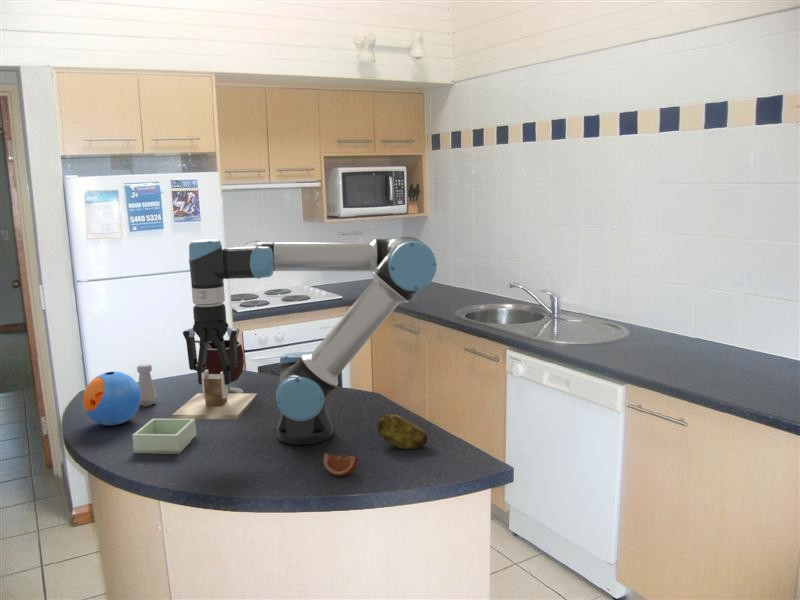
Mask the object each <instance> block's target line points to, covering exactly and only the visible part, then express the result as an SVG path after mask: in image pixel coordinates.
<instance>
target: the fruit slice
mask: <svg viewBox="0 0 800 600" xmlns="http://www.w3.org/2000/svg"><path fill="white" fill-rule="evenodd" d="M322 463H323V466H324V469H326V471H328V472H329V473H330V474H331V475H333V476H337V477H346V476H348V475H350V474H352V473H353V472H354V471H355V469H356V468H357V465H358V464H359V458H358V457H357V456H356V455H347V454H342V453H341V454H340V455H338V454H333V453H326V452H324V453H323V458H322Z"/></svg>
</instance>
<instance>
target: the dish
mask: <svg viewBox="0 0 800 600" xmlns="http://www.w3.org/2000/svg"><path fill="white" fill-rule="evenodd" d="M196 426H197V423H196V419H172V418H152V419H150V420H149V421H148V422H146V424H144V425H143V426H142V427H141V428H139V429H138V430H137V431H136V432H134V433H133V434H132V435H131V436H132V448H133V454H148V455H150V454H152V455H153V454H158V455H159V454H161V455H180V454H181V452H183V451H184V449H185V448H186V447H187V446H188V445H189V444H190V443H191V442H192V441H193V440H194V439H195V438H196V437H197V427H196ZM195 436H196V437H195ZM194 437H195V438H194ZM193 438H194V439H193ZM192 439H193V440H192ZM191 440H192V441H191Z"/></svg>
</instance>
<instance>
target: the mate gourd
mask: <svg viewBox="0 0 800 600" xmlns="http://www.w3.org/2000/svg"><path fill="white" fill-rule="evenodd" d="M224 341H225V342H224V344H225V348H226V351H227V355H228V358H229V362H230V354H229V339H224ZM199 342H200V340H198V339H197V340H196V339H195V344H199ZM237 352H238V366H237V367H236V368H235V369H234V370H231V383H234V382H236V381H237V380H239V378H240V377H241V375H242V374H243V371H244V365H245V363H244V362H245V359H244V357H245V356H244V350H243V346H242V342H241V341H240V340H237ZM205 367H206V368H205V369H204V371H205V370H208V373H209V374H220V373H221V372H222V371H223V369H222V365H221V362H220V358H219V355H218V351H217V347H216V346H215V343H214V342H209V344H208V349H207V357H206V365H205ZM228 393H239V394H244V390H243V389H241V388H240V387H233V386H232V387H229V385H228Z"/></svg>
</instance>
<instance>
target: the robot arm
mask: <svg viewBox="0 0 800 600" xmlns="http://www.w3.org/2000/svg"><path fill="white" fill-rule="evenodd" d="M188 255H189V258H188V262H189V271H190V282H191V283H190V284H191V297H192V303H193V307H192V311H193V312H192V314H193V321H194V322H193V325H192V328H187V329H185V330H184V331H182V335H183V337H184V339H185V343H186V350H187V352H186V353H187V359H188V367H189V370H191V371H196V372H197V380H198V381H197V382H198V385H199V386H200V385H201V386H202V387H201V388H202V393H203V399H205V390H204V378H206V377H207V376H208V375H209V373H208V370H205V371H204V369H205V368H206V367H205V365H206V357H207V349H208V344H209V342H214V343H215V346H216V347H217V351H218V355H219V358H220V362H221V365H222V369H223V371H222V372H221V373H220V378H221V391H222V399H225V398H226V397H227V396H228V395H229V394H228V386H229V385H230V384H232V382H231V370H234V369H235V368H236V367H237V366H238V352H237V341H238V336H239V334H240V329H239V328H232V327H230V326H229V324H228V322H227V313H226V312H227V311H226V304H225V303H224V302H226V299H225V297H226V296H225V283H224V281H225V280H230V279H257V280H258V279H261V278H262V279H263V278H271V277H272V276H273V274H274V272H370V273H372V282H371V283H370V284H369V285H368V286H367V288H366V289H364V291H363V292H362V293H361V295H360V296H359V297H358V298H357V299H356V300H355V302H354V303H353V304H352V305H351V306H350V307H349V308H348V310H347V311H346V312H345V313H344V314H343V315H342V317H341V318H340V319H339V321H338V322H337V323H336V324H335V325H334V326H333V327H332V329H331V330H330V331H329V332H328V334H327V335H325V337H324V338H323V339H322V341H321V342H320V343H319V344H318V345H317V346H316V348H315V349H314V350H313V351H298V352H297V351H296V352H290V353H285V354H282V355H280V358H279V364H278V365H279V368H280V370H279V371H280V372H279V373H280V376H279V380H278V385H277V388H276V391H275V401H276V406H277V408H278V409H279V410H278V411H280V413H281V414H280V416H279V420H278V424H277V427H276V433H277V434H276V435H277V439H278V441H280V442H283V444H284V443H285V444H289V445H295V446H296V445H297V446H299V445H300V446H302V445H303V446H304V445H311V444H312V445H313V444H318V443H321V442H324V441H326V440H328V439H330V438H331V437H332V436H333V433H334V428H333V427H334V426H333V423H332V420H331V417H330V415H329V412H328V408H327V407H326V400H327V398H329V396H330V395H331V394H332V393H333V391H334V390H335V389H336V388H337V387H338V385H339V381H338V380H339V379H338V377H339V375H340V374H341V372H342V371H343V370H344V369H345V368H346V366H348V365H349V363H350V362H351V360H353V359H354V357H355V356H356V355H357V354H358V353H359V352H360V350H361V349H362V348H363V347H364V346H365V344H366V343H367V342H368V341H369V340H370V338H372V336H373V335H374V334H375V332H377V330H378V329H379V328H380V327H381V325H382V324H383V323H384V322H385V321H386V320H387V319H388V317H389V316H390V315H391V314H392V313H393V311H394V310H395V309H396V308H397V306H399V304H402V303H403V304H405V303H409V302H410V301H411V300H412V299H413V297H414V296H415V295H416V294H417V293H418V292H419V291H421V290H423V289H425V288H426V287H428V286H429V284H430V283H432V281H433V279H434V278H435V275H436V272H437V259H436V256H435V253H434V252H433V251H432V248H430V247H429V245H427V244H426V243H424V242H423V241H421V240H419V239H417V238H414V237H411V236H400V237H391V238H374V239H373V240H372V241H371V242H303V241H302V242H291V241H290V242H287V241H286V242H285V241H284V242H282V241H281V242H280V241H279V242H270V241H268V242H267V241H265V242H263V241H259V240H254V241H253V240H251V241H249V242H247V243H245V244H244V245H243V246H241V247H238V246H237V247H223V246H222V243H221V240H219V239H214V238H211V239H196V240H193V241H191V242H189V245H188ZM226 333H227V336H228V340H229V354H230V362H229V358H228V355H227V351H226V348H225V344H224V342H225V341H224V340H225V335H226ZM196 335H197V337H198V338H199V341H200V342H199V343H198V344H199V349H198V353H197V347H196V343H195V340H196V338H195V336H196Z"/></svg>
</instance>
